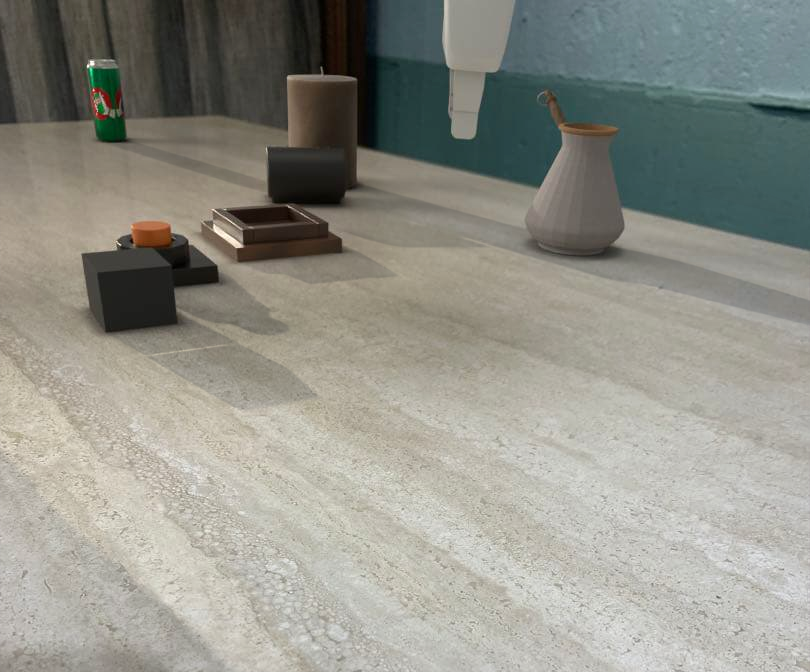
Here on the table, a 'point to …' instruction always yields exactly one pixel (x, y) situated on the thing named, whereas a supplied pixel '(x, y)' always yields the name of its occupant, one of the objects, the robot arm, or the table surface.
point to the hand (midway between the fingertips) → (460, 128)
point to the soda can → (106, 100)
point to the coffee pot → (577, 191)
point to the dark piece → (180, 260)
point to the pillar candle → (324, 115)
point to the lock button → (151, 233)
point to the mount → (269, 232)
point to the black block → (130, 289)
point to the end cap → (306, 174)
